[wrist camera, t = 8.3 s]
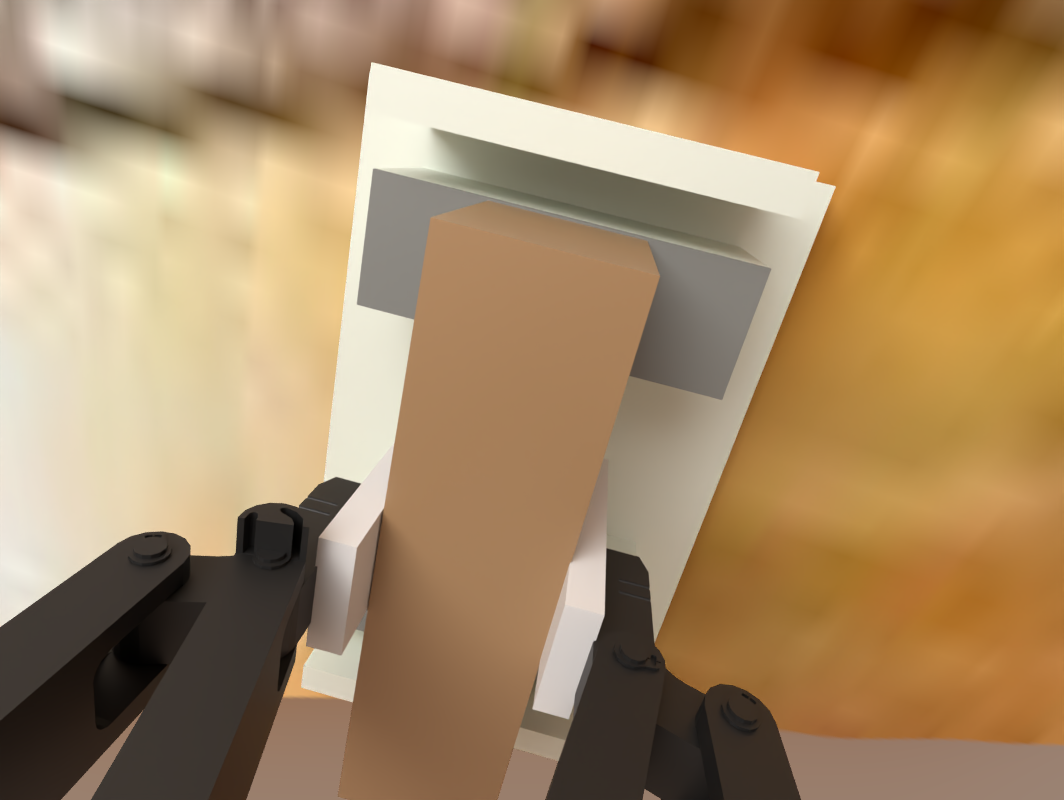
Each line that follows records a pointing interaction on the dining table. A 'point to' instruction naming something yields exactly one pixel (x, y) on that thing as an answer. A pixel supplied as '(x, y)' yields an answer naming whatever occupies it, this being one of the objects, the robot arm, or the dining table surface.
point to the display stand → (670, 330)
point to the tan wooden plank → (488, 489)
